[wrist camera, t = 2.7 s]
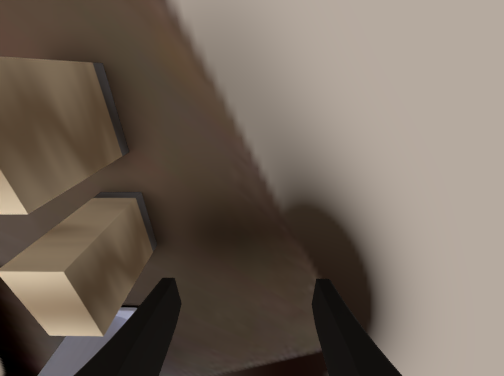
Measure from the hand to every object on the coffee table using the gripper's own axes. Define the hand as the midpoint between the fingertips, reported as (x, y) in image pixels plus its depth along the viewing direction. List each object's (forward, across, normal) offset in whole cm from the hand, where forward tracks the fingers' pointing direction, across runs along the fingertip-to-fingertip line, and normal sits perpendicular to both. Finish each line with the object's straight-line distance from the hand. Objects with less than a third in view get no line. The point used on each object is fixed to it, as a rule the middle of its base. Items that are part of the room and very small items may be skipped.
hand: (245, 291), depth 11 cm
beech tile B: (+6, +9, -8) cm, 14 cm away
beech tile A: (+6, +9, 0) cm, 11 cm away
